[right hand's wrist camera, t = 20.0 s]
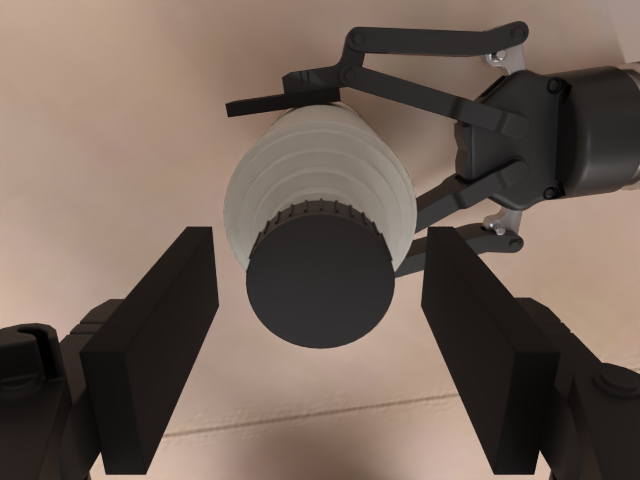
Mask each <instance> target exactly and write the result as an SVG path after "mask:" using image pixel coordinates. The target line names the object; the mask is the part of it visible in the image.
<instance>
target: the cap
mask: <svg viewBox="0 0 640 480" xmlns="http://www.w3.org/2000/svg"><path fill="white" fill-rule="evenodd" d="M248 259H250V262H249V264H248V267H247V270H246V273H247V275H246V287H247V294H248V298H249V301H250V304H251V306H252V308H253V310H254V312H255V314H256V315H257V317H258V318H259V320H260V321H261V322H262V323H263V325H264V326H266V327H267V328H268V329H269V330H270V331H271V332H272V333H274V334H275V335H276V336H278V337H280V338H281V339H283V340H285V341H287V342H290V343H292V344H295V345H298V346H302V347H307V348H317V349H323V348H333V347H339V346H342V345H346V344H349V343H351V342H354V341H356V340H358V339H359V338H361V337H363V336H364V335H366V334H367V333H369V332H370V331H371V330H372V329H373V328H374V327H375V326H376V325H377V324H378V323H379V322H380V321H381V320H382V318H383V317H384V315H385V314H386V312H387V310H388V308H389V306H390V304H391V301H392V297H393V294H394V287H395V276H394V275H395V271H394V269H393V265H392V262H391V261H393V258H392V256H391V253H390V251H389V248H388V246H387V243H386V241H385V238H384V236H383V234H382V233H380V232H379V231H378V229H377V227H376V224H375V222H374V221H373V222H371V221H370V220H369V219H368V218H367V217H366V216H365V213H364V212H362V213H361V212H359V211H358V210H356V209H354V208H353V207H352V205H349V206H348V205H345V204H342V203H339V202H338V200H335V202H334V201H327V200H323V198H320V200H313V201H308V200H305V202H302V203H299V204H296V205H293V204H291V205H290V207H289V208H287V209H285V210H283V211H282V212H280V211H278V212H277V215H276V216H275V217H274V218H273V219H271V221H269V220H268V221H267V223H266V225H265V228H264V229H263V231H262V232H261V231H260V232H259V233H258V236H257V239H256V241H255V244H254V245H253V247H252V250H251V253H250V255H249V258H248Z"/></svg>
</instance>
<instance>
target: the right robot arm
mask: <svg viewBox="0 0 640 480" xmlns="http://www.w3.org/2000/svg"><path fill="white" fill-rule="evenodd" d="M218 307H219V300H218V289H217V278H216V266H215V255H214V244H213V232H212V227H186V229H185V230H184V231H183V232H182V233H181V234H180V235H179V237H178V238H177V239H176V240H175V241H174V242H173V244H172V245H171V246H170V247H169V248H168V249H167V251H166V252H165V253H164V254H163V255H162V256H161V257H160V259H159V260H158V261H157V262H156V263H155V264H154V266H153V267H152V268H151V269H150V270H149V271H148V273H147V274H146V275H145V276H144V277H143V278H142V279H141V281H140V282H139V283H138V284H137V285H136V286H135V288H134V289H133V290H132V291H131V292H130V293H129V295H128V296H127V297H126V298H125V299H110V300H108V301H106V302H104V303H102V304H101V305H99V306H97V307H95V308H94V309H92V310H91V311H90V312H89V313H88V314H87V315H86V316H85V317H84V318H83V319H82V320H81V321H80V324H77V325H76V326H75V327H74V328H73V329H72V330H71V332H70V335H67V336H66V337H65V338H64V339H63V340H62V341H61V342H60V343H59V341H58V337H57V332H56V330H55V329H54V328H53V327H51V326H50V325H46V324H39V323H31V324H20V325H15V326H11V327H6V328H3V329H0V480H91V477H90V472H89V471H90V469H91V468H92V466H93V464H94V462H95V461H96V459H97V457H98V455H99V454H100V452H101V455H102V460H103V464H104V469H105V473H106V475H146V473H147V471H148V469H149V466H150V464H151V462H152V459H153V457H154V455H155V453H156V450H157V448H158V446H159V443H160V441H161V439H162V436H163V434H164V432H165V429H166V427H167V425H168V423H169V420H170V418H171V416H172V413H173V411H174V409H175V406H176V404H177V402H178V399H179V397H180V395H181V393H182V390H183V388H184V386H185V383H186V381H187V379H188V376H189V374H190V372H191V369H192V367H193V365H194V363H195V360H196V358H197V356H198V353H199V351H200V349H201V346H202V344H203V342H204V339H205V337H206V335H207V332H208V330H209V328H210V326H211V323H212V321H213V319H214V316H215V314H216V312H217V309H218ZM421 307H422V309H423V312H424V314H425V316H426V319H427V321H428V323H429V326H430V328H431V330H432V332H433V335H434V337H435V339H436V342H437V344H438V346H439V349H440V351H441V353H442V356H443V358H444V360H445V363H446V365H447V367H448V369H449V372H450V374H451V376H452V379H453V381H454V383H455V386H456V388H457V390H458V393H459V395H460V397H461V399H462V402H463V404H464V406H465V409H466V411H467V413H468V416H469V418H470V420H471V423H472V425H473V427H474V429H475V432H476V434H477V436H478V439H479V441H480V443H481V446H482V448H483V450H484V453H485V455H486V457H487V459H488V462H489V464H490V466H491V469H492V471H493V473H494V475H534V473H535V469H536V464H537V460H538V455H539V450H540V451H541V453H542V455H543V456H544V458H545V460H546V462H547V463H548V465H549V467H550V468H551V472H550V477H549V480H640V374H638V373H636V372H634V371H632V370H629V369H627V368H625V367H621V366H617V365H613V364H609V363H602V362H601V361H600V360H599V359H598V358H597V357H596V356H595V355H594V354H593V353H592V352H591V351H590V350H589V349H588V348H587V347H586V346H585V345H584V344H583V343H582V342H581V341H580V340H579V339H578V338H577V337H576V336H575V335H574V334H573V333H571V332H570V329H569V328H568V327H567V326H566V325H565V324H564V323H561V322H560V321H561V320H560V319H559V318H558V317H557V316H556V315H555V314H554V313H553V312H552V311H551V310H550V309H549V308H548V307H546V306H544V305H542V304H541V303H539V302H537V301H535V300H533V299H532V298H514V297H513V296H512V295H511V293H510V292H509V291H508V290H507V289H506V288H505V286H504V285H503V284H502V283H501V282H500V281H499V279H498V278H497V277H496V276H495V275H494V274H493V273H492V271H491V270H490V269H489V268H488V267H487V266H486V264H485V263H484V262H483V261H482V260H481V259H480V257H479V256H478V255H477V254H476V253H475V252H474V251H473V249H472V248H471V247H470V246H469V245H468V244H467V242H466V241H465V240H464V239H463V238H462V237H461V235H460V234H459V233H458V232H457V231H456V230H455V229H454V227H428V232H427V244H426V255H425V266H424V278H423V289H422V300H421Z"/></svg>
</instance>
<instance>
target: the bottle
mask: <svg viewBox="0 0 640 480" xmlns="http://www.w3.org/2000/svg"><path fill="white" fill-rule="evenodd" d="M320 198H323V200H327V201H334V202H335V200H338V202H339V203H342V204H345V205H348V206H349V205H352V207H353V208H354V209H356V210H358V211H359V212H361V213H362V212H364V213H365V216H366V217H367V218H368V219H369V220H370V221H371V222H373V221H374V222H375V224H376V227H377V229H378V231H379V232H380V233H382V234H383V236H384V238H385V241H386V243H387V246H388V248H389V251H390V253H391V256H392V258H393V261H391V262H392V265H393V269H394V271H396V270H397V268H398V267H399V266H400V264H401V263H402V261H403V260H404V258H405V256H406V254H407V252H408V250H409V248H410V246H411V243H412V240H413V237H414V233H415V228H416V220H417V205H416V198H415V193H414V188H413V186H412V183H411V180H410V177H409V175H408V173H407V171H406V169H405V167H404V166H403V164H402V163H401V162H400V160H399V159H398V157H397V156H396V155H395V154H394V153H393V152H392V150H391V149H390V148H389V147H388V146H387V145H386V144H385V143H384V142H383V141H382V140H381V139H380V137H379V136H378V135H377V134H376V133H375V132H374V131H373V130H372V129H371V128H370V127H369V125H368V124H367V123H366V122H365V121H364V120H363V119H362V118H361V117H360V116H359V115H358V114H357V113H356V112H355V111H354V110H353V109H352V108H350V107H349V106H347V105H345V104H343V103H341V102H333V103H326V104H319V105H312V106H305V107H298V108H291V109H288V110H286V111H285V112H284V113H283V114H282V115H281V116H280V117H279V118H278V119H277V120H276V122H275V123H274V124H273V125H272V126H271V127H270V128H269V129H268V130H267V131H266V133H265V134H264V135H263V136H262V137H261V138H260V139H259V140H258V141H257V142H256V143H255V145H254V146H253V147H252V148H251V149H250V150H249V151H248V152H247V153H246V154H245V156H244V157H243V158H242V160H241V161H240V162H239V164H238V165H237V167H236V169H235V171H234V173H233V175H232V176H231V179H230V182H229V185H228V187H227V191H226V196H225V201H224V225H225V230H226V235H227V238H228V241H229V244H230V247H231V249H232V251H233V253H234V255H235V257H236V259H237V260H238V262H239V263H240V265H241V266H242V268H243V269H244V270H245V272H246V270H247V267H248V264H249V262H250V259H248V258H249V255H250V253H251V250H252V247H253V245H254V244H255V241H256V239H257V236H258V233H259V232H260V231H261V232H262V231H263V229H264V228H265V225H266V223H267V221H268V220H269V221H271V219H273V218H274V217H275V216H276V215H277V212H278V211H280V212H282V211H283V210H285V209H287V208H289V207H290V205H291V204H293V205H296V204H299V203H302V202H305V200H308V201H313V200H320Z"/></svg>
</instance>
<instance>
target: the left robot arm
mask: <svg viewBox="0 0 640 480" xmlns="http://www.w3.org/2000/svg"><path fill="white" fill-rule="evenodd" d="M528 34H529V29H528V26H527V25H526V24H525V23H524V22H522V21H517V22H512V23H509V24H505V25H501V26H498V27H495V28H492V29H489V30H486V31H483V32H472V31H448V30H424V29H400V28H376V27H355V28H353V29H351V30H350V32H349V33H348V34H347V36H346V38H345V43H344V48H343V52H342V56H341V59H340V61H339V62H338V63H337V64H336V65H334V66H331V67H325V68H318V69H311V70H304V71H297V72H290V73H289V74H287V75H285V76H284V77H282V80H283V86H284V93H285V94H280V95H273V96H266V97H259V98H252V99H245V100H238V101H233V102H230V103H227V104H225V105H226V110H227V115H228V117H234V116H242V115H249V114H256V113H263V112H270V111H277V110H284V109H291V108H298V107H305V106H312V105H319V104H326V103H333V102H340V101H341V100H340V91H339V88H342V87H350V88H354V89H357V90H360V91H364V92H367V93H370V94H373V95H377V96H380V97H383V98H387V99H390V100H393V101H397V102H400V103H403V104H407V105H410V106H413V107H416V108H420V109H423V110H426V111H430V112H433V113H436V114H440V115H443V116H446V117H449V118H453V119H456V120H458V121H457V123H456V124H454V135H455V139H456V142H457V145H458V151H457V155H456V160H455V166H456V173H455V174H453V175H451V176H450V177H448V178H446V179H445V180H444V181H443V182H442V183H441V184H440V185H439V186H437V187H435V188H433V189H432V190H430V191H428V192H426V193H425V194H423V195H421V196H419V197H417V198H416V205H417V220H416V228H415V233H414V234H416V233H417V232H419V231H421V230H423V229H425V228H426V227H428V226H430V225H432V224H434V223H435V222H437V221H439V220H441V219H443V218H445V217H446V216H448V215H450V214H452V213H454V212H455V211H457V210H460V209H466V208H469V207H471V206H473V205H475V204H477V203H478V202H480V201H482V200H484V199H486V198H488V199H490V200H492V201H494V202H496V203H497V204H499V205H501V206H502V207H501V210H500V211H499V212H498V213H496V214H494V215H490V216H487V217H485V218H484V220H483V223H474V224H468V225H464V226H461V227H457V228H454V229H455V230H456V231H457V232H458V233H459V234H460V235H461V237H462V238H463V239H464V240H465V241H466V242H467V244H468V245H469V246H470V247H471V248H472V249H473V251H474V252H475V253H476V254H477V255H478V254H481V253H485V252H500V253H516V252H518V251H520V250H521V249H522V247H523V245H524V241H523V239H522V238H521V237H520V236H519V235H518V230H519V225H520V220H521V215H522V211H524V210H526V209H528V208H530V207H531V206H533V205H535V204H536V203H539V202H541V201H545V200H555V199H564V198H572V197H579V196H587V195H595V194H603V193H610V192H614V191H617V190H619V189H621V190H636V189H640V62H632V63H627V64H622V65H620V66H618V67H613V66H604V67H597V68H590V69H583V70H576V71H569V72H561V73H554V74H547V75H540V74H536V73H534V72H532V71H530V70H526V67H525V61H524V54H523V47H522V43H523V42H524V41H525V40H526V39H527V37H528ZM365 53H373V54H398V55H422V56H447V57H471V56H480V57H481V61H482V63H483V64H484V65H485V66H488V67H491V66H495V67H498V68H500V70H501V71H502V73H503V75H502V76H501V77H500V78H499V79H498V80H497V81H496V82H494V83H493V84H492V85H491V86H490V87H489V88H488V89H487V90H485V91H484V92H483V93H482V94H481V95H480V96H479V97H478V98H477V99H475V100H474V101H471V100H468V99H465V98H461V97H458V96H454V95H451V94H448V93H444V92H441V91H438V90H435V89H431V88H428V87H425V86H422V85H418V84H415V83H412V82H409V81H405V80H402V79H399V78H396V77H392V76H389V75H386V74H383V73H379V72H376V71H373V70H370V69H366V68H363V67H362V65H363V60H364V56H365ZM426 244H427V236H426V237H423V238H420V239H416V240H413V241H412V243H411V246H410V248H409V250H408V252H407V254H406V256H405V258H404V260H403V261H402V263H401V264H400V266H399V267H398V268H397V270H396V271H395V275H394V276H395V278H397V277H401V276H404V275H408V274H411V273H415V272H418V271H422V270H424V266H425V255H426Z"/></svg>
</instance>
